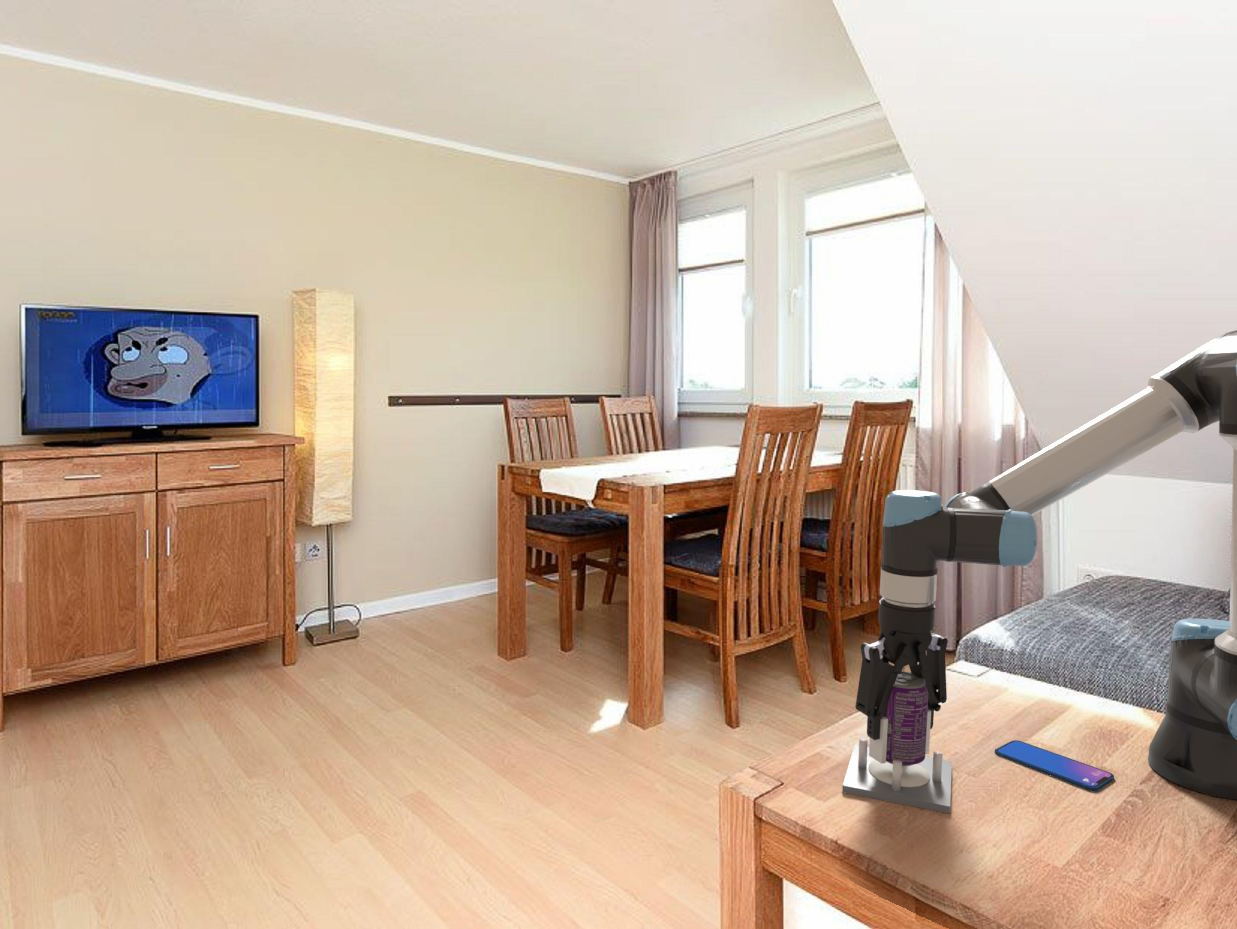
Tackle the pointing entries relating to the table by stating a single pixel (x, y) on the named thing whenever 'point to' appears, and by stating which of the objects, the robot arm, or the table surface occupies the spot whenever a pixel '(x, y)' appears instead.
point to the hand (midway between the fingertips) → (899, 754)
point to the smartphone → (1056, 765)
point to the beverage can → (907, 720)
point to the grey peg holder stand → (900, 780)
